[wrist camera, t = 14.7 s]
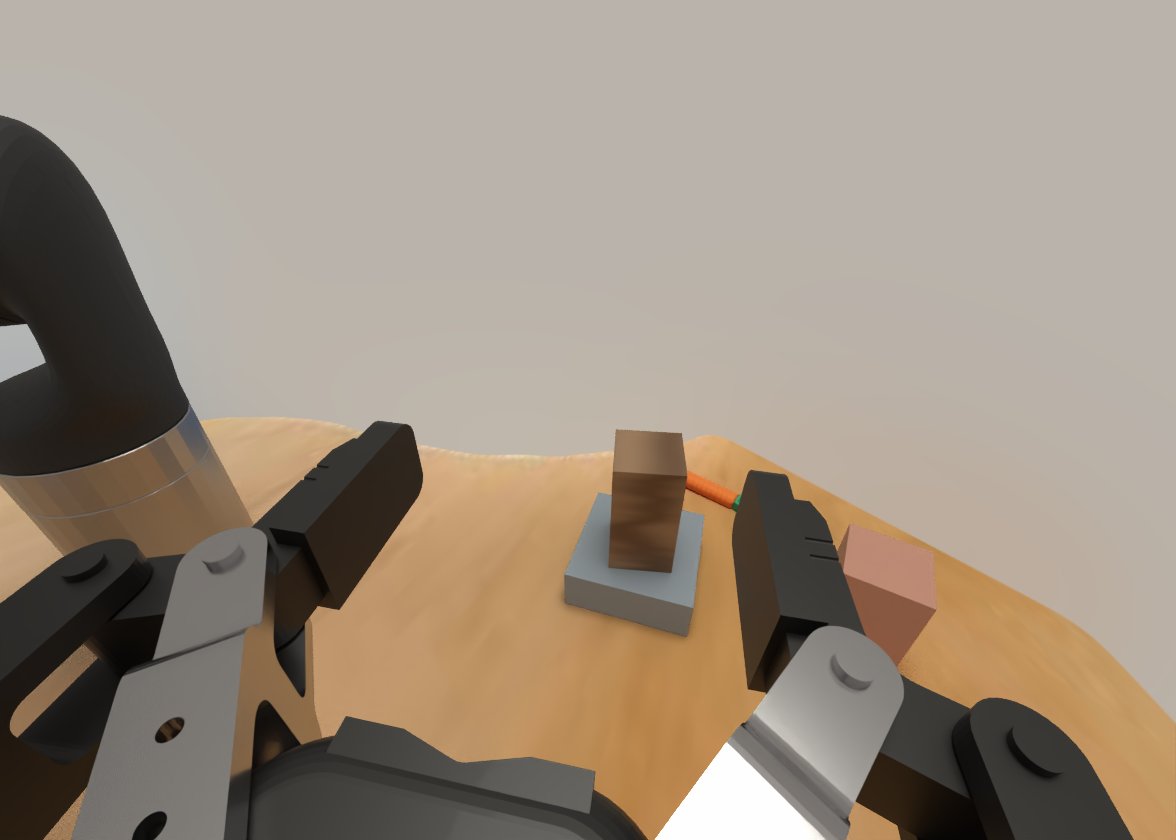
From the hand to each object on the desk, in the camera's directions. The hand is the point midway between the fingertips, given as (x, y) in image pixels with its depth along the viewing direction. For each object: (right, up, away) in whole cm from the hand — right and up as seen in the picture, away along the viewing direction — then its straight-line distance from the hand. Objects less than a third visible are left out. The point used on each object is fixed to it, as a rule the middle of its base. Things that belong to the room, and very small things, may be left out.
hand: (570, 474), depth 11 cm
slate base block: (+5, -12, +30) cm, 33 cm away
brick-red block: (+20, -16, +24) cm, 35 cm away
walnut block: (+5, -9, +28) cm, 30 cm away
